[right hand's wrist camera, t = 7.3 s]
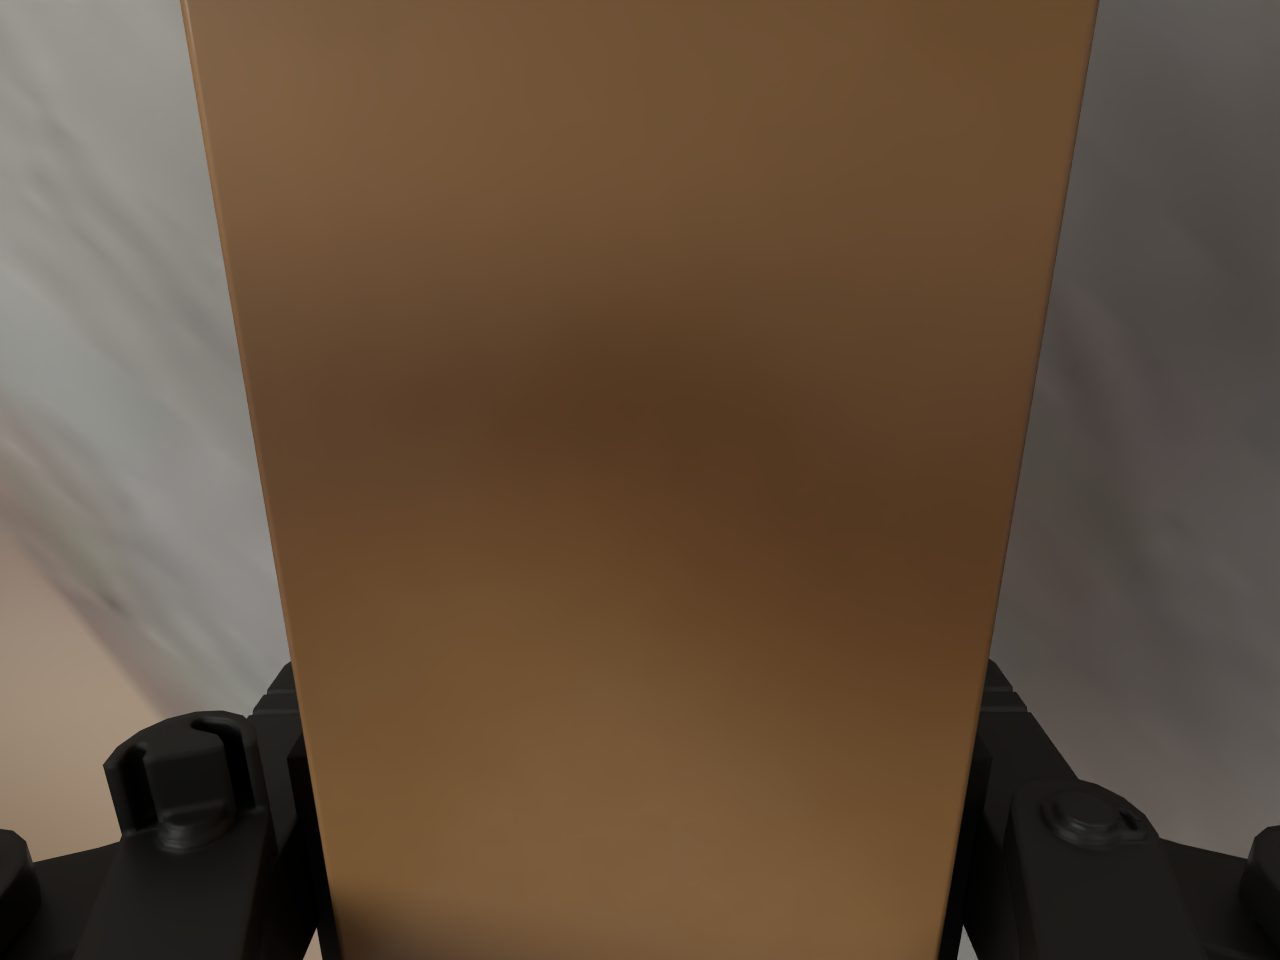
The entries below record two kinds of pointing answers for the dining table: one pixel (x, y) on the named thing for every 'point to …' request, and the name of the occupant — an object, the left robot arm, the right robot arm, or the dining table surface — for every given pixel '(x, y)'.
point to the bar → (639, 445)
